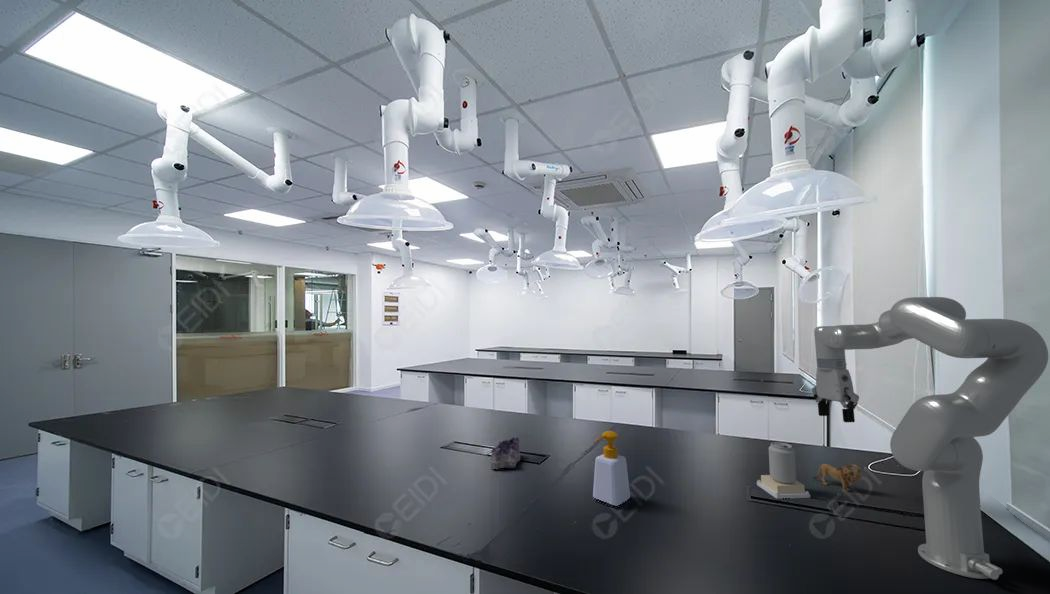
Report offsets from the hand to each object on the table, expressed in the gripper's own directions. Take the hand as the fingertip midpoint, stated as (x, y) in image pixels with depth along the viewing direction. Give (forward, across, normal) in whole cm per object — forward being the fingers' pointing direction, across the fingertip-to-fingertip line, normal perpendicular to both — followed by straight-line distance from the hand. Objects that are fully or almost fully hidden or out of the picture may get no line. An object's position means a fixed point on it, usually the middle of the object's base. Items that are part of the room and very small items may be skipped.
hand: (836, 418), depth 128 cm
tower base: (+26, +11, +12) cm, 31 cm away
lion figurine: (+26, +13, -10) cm, 31 cm away
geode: (+25, +48, +105) cm, 118 cm away
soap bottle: (+26, +9, +72) cm, 77 cm away
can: (+22, +11, +12) cm, 27 cm away
